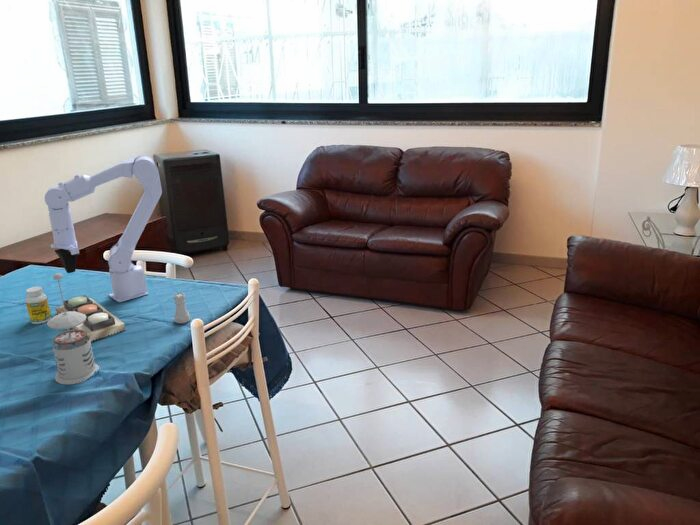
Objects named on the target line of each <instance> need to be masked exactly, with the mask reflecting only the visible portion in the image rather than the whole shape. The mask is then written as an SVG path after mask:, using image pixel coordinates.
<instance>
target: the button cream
mask: <svg viewBox="0 0 700 525" xmlns="http://www.w3.org/2000/svg"><path fill="white" fill-rule="evenodd" d="M107 319H109V318H108V314H107V313H96V314H93V315H91V316H89V317H88V322H90V323H91V324H94V323H98V322H101V321H104V320H107Z"/></svg>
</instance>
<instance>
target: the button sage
mask: <svg viewBox="0 0 700 525" xmlns="http://www.w3.org/2000/svg"><path fill="white" fill-rule="evenodd" d="M86 297H87V296H86ZM86 297H80V296H75V297H72V298H70V299H67V300H68V305H70V306H71V307H72V306H75V305H79V304H82V303H86V302H87V298H86Z"/></svg>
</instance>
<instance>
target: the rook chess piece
mask: <svg viewBox="0 0 700 525" xmlns="http://www.w3.org/2000/svg"><path fill="white" fill-rule="evenodd" d="M186 296H187V295H185V293H184V292H180V293H179V292H177V293H174V296H173V300H175V303H174V304H175V307H176V308H175V313H174V316H173V318H174V323H176V324H180V325H181V324H185V323H188V322H190V320H191V314H190V312H189V311H188V310H187V306H186V301H185V300H186V298H187V297H186Z"/></svg>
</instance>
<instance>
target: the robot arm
mask: <svg viewBox="0 0 700 525" xmlns="http://www.w3.org/2000/svg"><path fill="white" fill-rule="evenodd" d="M133 176H134V177H135V178H136V179H137V181H138V182H140V184H141V186H142V188H143V191H144V192H143V194H142V195H141V198H140V199H139V202H138V203H137V206H136V207H135V210H134V212H133V214H132V215H131V217H130V220H129V222H128V223H127V226H126V227H125V229H124V231H123V233H122V234H121V237H120V238H119V240H118V241H117V243H116V244H114V245H113V246H112V247H111V248H110V250H109V258H108V261H107V264H108V267H109V269H108V270H109V276H110V277H109V278H110V282H111V288H112V293H108V296H109V298H111V299H112V300H114V301H116V302H117V303H122V302H126V301H129V300H133V299H136V298H139V297H142V296H143V297H144V296H146V295H149V292H148V288H147V282H146V274H145V271H144V269H143V267H142V266H141V265H140V264H136V265H135V264H134V263H133V262H132V257H133V254H134V252H135V249H136V246H137V244H138V241H139V239H140V238H141V236H142V233H143V232H144V230H145V227H146V226H147V224H148V222H149V220H150V218H151V216H152V214H153V212H154V211H155V208H156V206H157V204H158V202H159V200H160V198H161V196H162V193H163V189H162V184H161V177H160V173H159V167H158V166H157V164H156V163H155V161H154V159H153V158H152V157H150V156H149V155H147V154H141V155H140V154H139V155H138V156H136V157H131V158H128V159H125V160H123V161H120V162H118V163H116V164H113V165H112V166H110V167H109V166H108V167H107V168H105V169H103V170H101V171H100V172H99V171H98V172H97V173H95V174H92V175H88V174H81V175H80V174H79V173H78V174H75V175H74V176H73V178H71V179H68V180H66V181H64V182H62V181H60V182H58V183H57V185H53V186H51V187H49V188H48V190H47V191H46V193H45V194H44V202H45V204H46V206H48V207H47V209H48V216H49V220H50V228H51V232H52V238H53V243H52V244H50V248H52V249H55V250H54V253H55V254H56V255H57V256H58V257H59V259H60V261H61V263H62V266H63V268H64V269H65V272H66V273H67V274H73V273H75V272H76V268H77V258H78V255H79V254H80V249H79V246H78V240H77V238H76V233H75V227H74V221H73V217H72V211H71V209H70V204H69V203H70V202H75V201H77V200H80V199H82V198H86V197H87V196H90V195H91V194H94V193H95V190H96V187H99V186H101V185H103V184H106V183H108V182H111V181H114V180H116V179H119V178H121V177H123V178H128V179H133Z"/></svg>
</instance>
